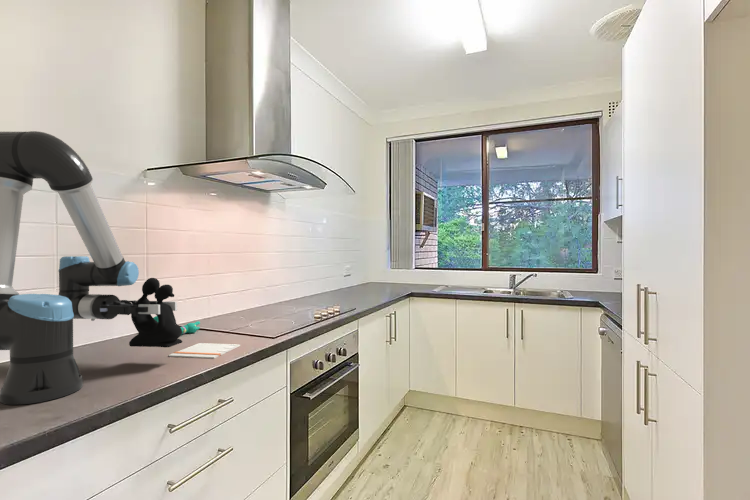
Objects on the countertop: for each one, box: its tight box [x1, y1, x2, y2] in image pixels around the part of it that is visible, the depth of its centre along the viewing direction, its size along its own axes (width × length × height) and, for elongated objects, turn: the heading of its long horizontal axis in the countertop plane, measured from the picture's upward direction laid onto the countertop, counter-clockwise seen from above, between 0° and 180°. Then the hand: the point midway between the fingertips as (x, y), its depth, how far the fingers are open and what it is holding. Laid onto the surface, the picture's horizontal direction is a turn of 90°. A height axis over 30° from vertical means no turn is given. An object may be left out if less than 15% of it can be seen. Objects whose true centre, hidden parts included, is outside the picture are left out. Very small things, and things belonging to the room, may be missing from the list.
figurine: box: [128, 277, 183, 348], centre depth 119 cm, size 14×9×20 cm, turn 83°
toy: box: [153, 315, 201, 336], centre depth 159 cm, size 7×22×20 cm
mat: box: [168, 342, 241, 359], centre depth 133 cm, size 16×16×1 cm
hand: (167, 307), depth 118 cm, fingers closed on figurine, 7 cm apart
